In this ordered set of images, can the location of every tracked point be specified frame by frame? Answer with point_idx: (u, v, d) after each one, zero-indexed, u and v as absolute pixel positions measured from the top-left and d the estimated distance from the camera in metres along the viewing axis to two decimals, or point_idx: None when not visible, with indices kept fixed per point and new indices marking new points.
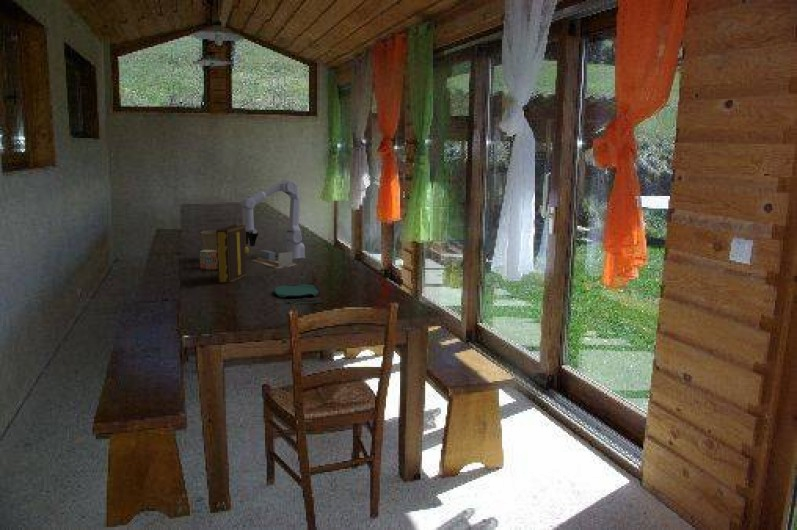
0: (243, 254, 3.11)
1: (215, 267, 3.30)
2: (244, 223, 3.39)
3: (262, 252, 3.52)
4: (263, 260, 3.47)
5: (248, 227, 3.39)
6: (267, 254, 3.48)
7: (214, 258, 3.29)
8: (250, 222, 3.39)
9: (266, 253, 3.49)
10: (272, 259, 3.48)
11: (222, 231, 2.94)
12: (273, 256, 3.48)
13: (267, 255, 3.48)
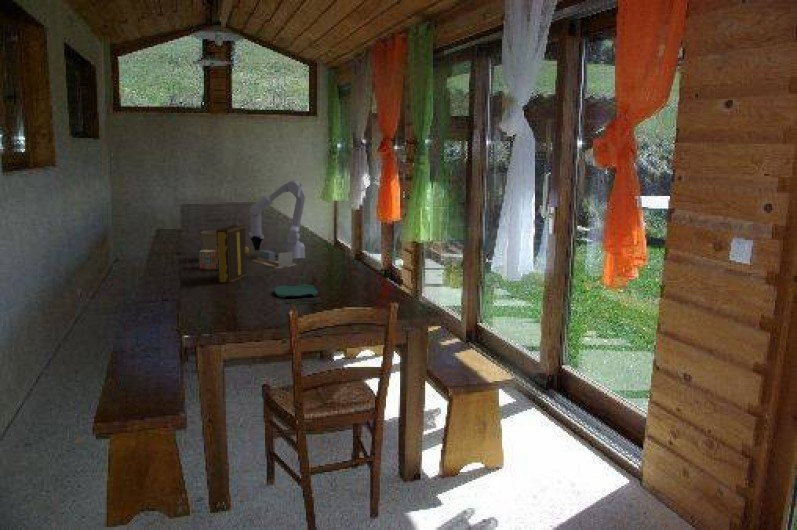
0: (243, 254, 3.11)
1: (214, 267, 3.30)
2: (252, 229, 3.56)
3: (262, 252, 3.52)
4: (263, 260, 3.47)
5: (256, 232, 3.56)
6: (267, 254, 3.48)
7: (213, 258, 3.29)
8: (258, 228, 3.56)
9: (266, 253, 3.49)
10: (272, 259, 3.48)
11: (222, 231, 2.94)
12: (273, 256, 3.48)
13: (267, 255, 3.48)
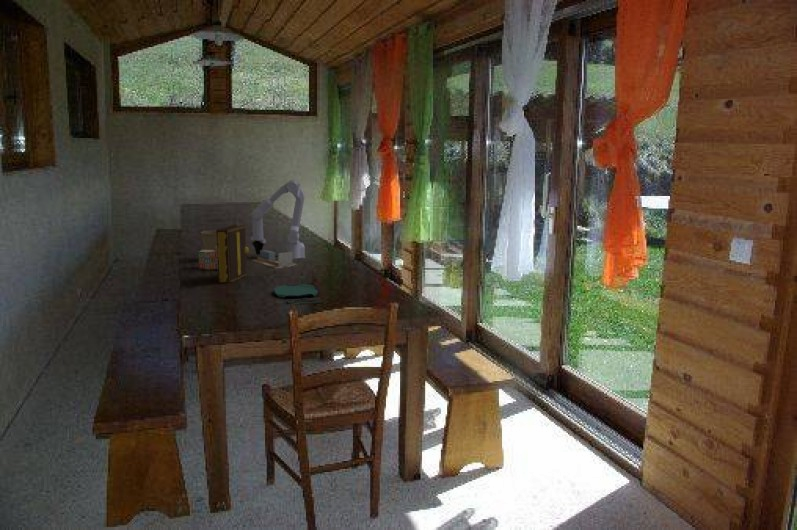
0: (243, 254, 3.11)
1: (214, 267, 3.30)
2: (254, 233, 3.55)
3: (262, 252, 3.52)
4: (263, 260, 3.47)
5: (258, 237, 3.55)
6: (267, 254, 3.48)
7: (213, 258, 3.29)
8: (260, 232, 3.55)
9: (266, 253, 3.49)
10: (272, 259, 3.48)
11: (222, 231, 2.94)
12: (273, 256, 3.48)
13: (267, 255, 3.48)
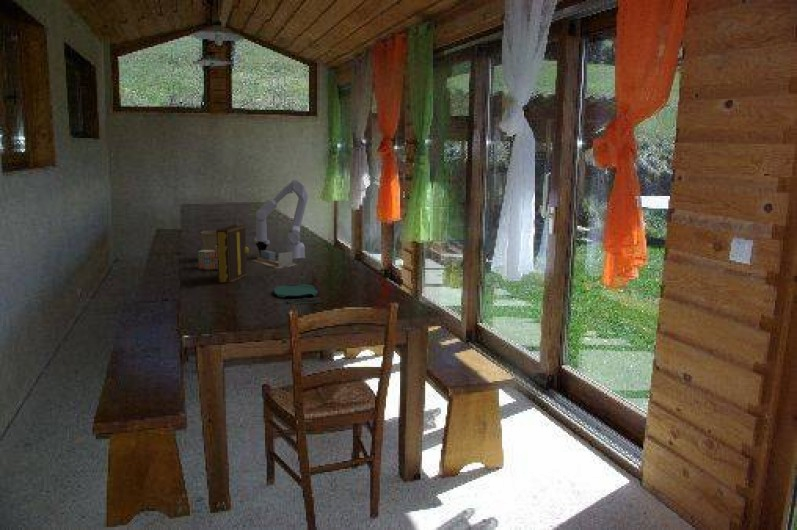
0: (243, 254, 3.11)
1: (214, 267, 3.29)
2: (258, 234, 3.52)
3: (262, 252, 3.52)
4: (263, 260, 3.47)
5: (261, 238, 3.52)
6: (267, 254, 3.47)
7: (213, 258, 3.28)
8: (263, 233, 3.52)
9: (266, 253, 3.48)
10: (272, 259, 3.48)
11: (222, 231, 2.94)
12: (273, 256, 3.48)
13: (267, 255, 3.48)
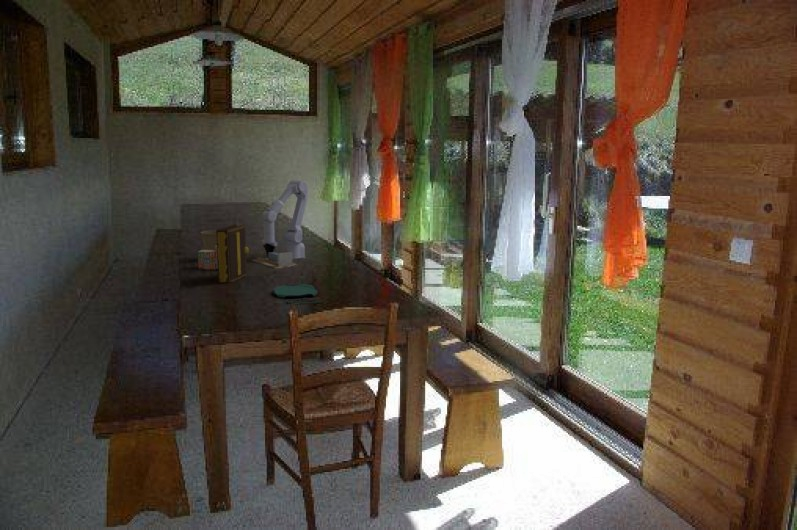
0: (243, 254, 3.11)
1: (213, 267, 3.30)
2: (265, 236, 3.45)
3: (270, 254, 3.45)
4: (263, 260, 3.47)
5: (269, 239, 3.45)
6: (275, 256, 3.41)
7: (212, 258, 3.29)
8: (271, 235, 3.45)
9: (274, 255, 3.42)
10: None
11: (222, 231, 2.94)
12: None
13: (275, 257, 3.41)
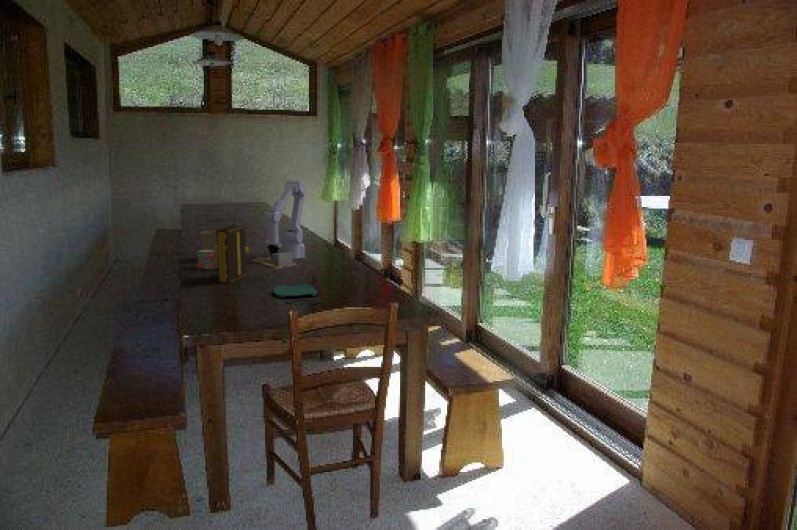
0: (243, 254, 3.11)
1: (213, 267, 3.30)
2: (269, 237, 3.42)
3: (274, 255, 3.42)
4: (263, 260, 3.47)
5: (273, 240, 3.42)
6: None
7: (212, 258, 3.29)
8: (275, 236, 3.42)
9: None
10: None
11: (222, 231, 2.94)
12: None
13: None
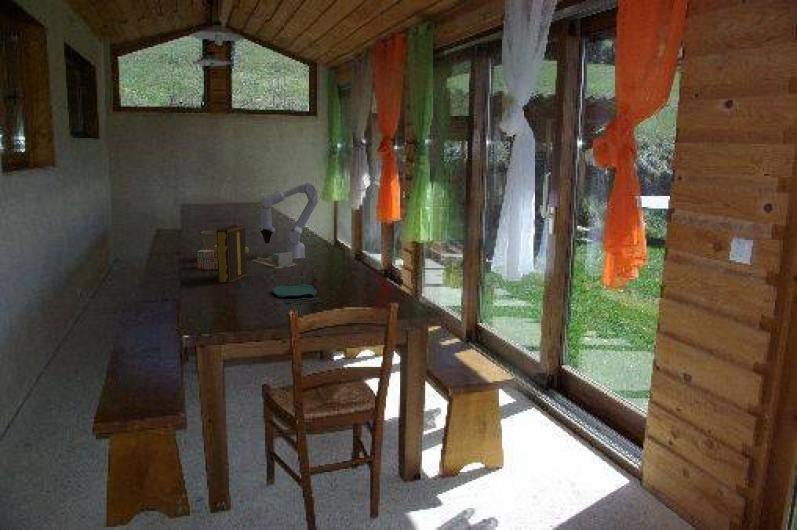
0: (243, 254, 3.11)
1: (213, 267, 3.30)
2: (263, 222, 3.51)
3: (274, 255, 3.42)
4: (263, 260, 3.47)
5: (267, 225, 3.51)
6: None
7: (212, 257, 3.29)
8: (268, 221, 3.52)
9: None
10: None
11: (222, 231, 2.94)
12: None
13: None
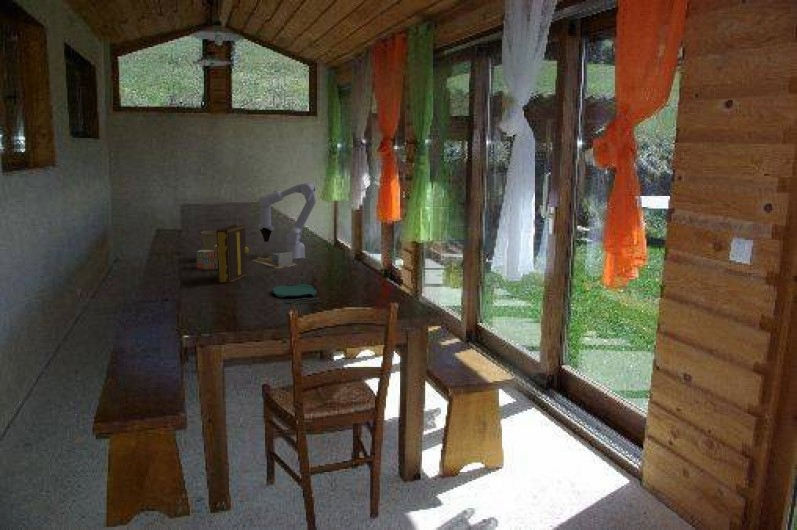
0: (243, 254, 3.11)
1: (213, 267, 3.30)
2: (262, 220, 3.57)
3: (274, 255, 3.42)
4: (263, 260, 3.47)
5: (266, 224, 3.57)
6: None
7: (212, 257, 3.29)
8: (268, 219, 3.57)
9: None
10: None
11: (222, 231, 2.94)
12: None
13: None
